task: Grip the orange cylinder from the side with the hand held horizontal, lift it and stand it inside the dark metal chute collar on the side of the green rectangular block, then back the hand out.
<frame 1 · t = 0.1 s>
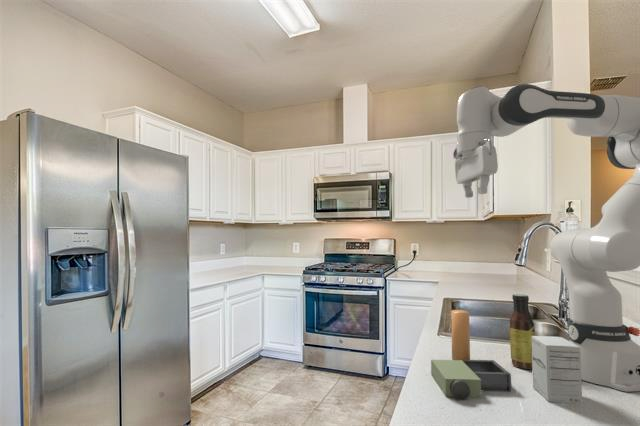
hand: (475, 195, 95), 48 cm above the countertop, tool pointing down, fingers open, 8 cm apart
supplement box: (556, 396, 80), on the countertop
green rectangular block: (454, 385, 85), on the countertop
orange cylinder: (460, 359, 103), on the countertop
chute collar: (483, 382, 87), on the countertop
sauce bottle: (523, 366, 98), on the countertop
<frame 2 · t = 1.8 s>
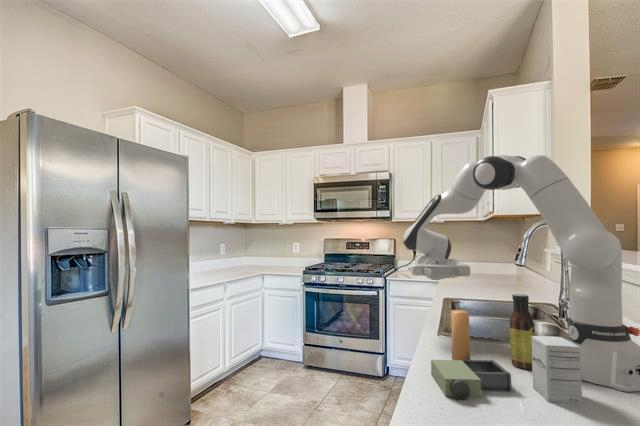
hand: (446, 272, 116), 24 cm above the countertop, tool horizontal, fingers open, 8 cm apart
nothing on the countertop moved.
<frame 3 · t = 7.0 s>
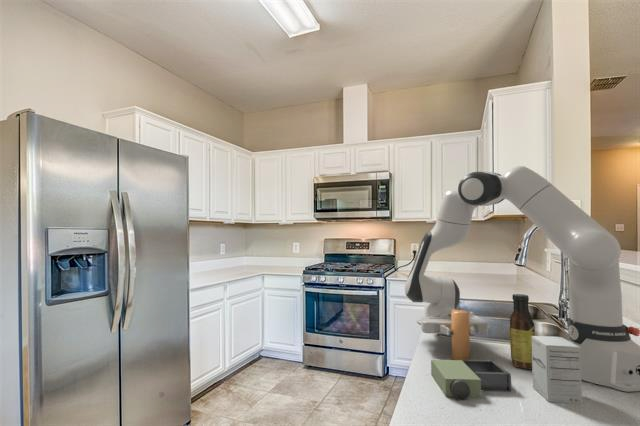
hand: (461, 332, 102), 8 cm above the countertop, tool horizontal, fingers closed on orange cylinder, 5 cm apart
orange cylinder: (460, 359, 103), on the countertop, touching gripper
everything else where it was.
when the fingers open (9 cm above the countertop, at t = 15.3 s): orange cylinder drops 1 cm, resting in chute collar.
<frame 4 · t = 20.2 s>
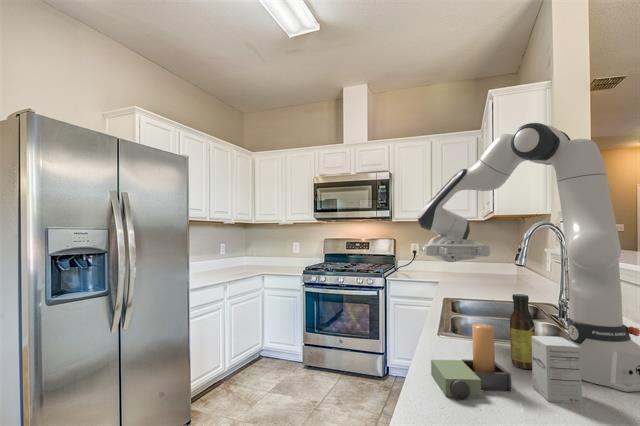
hand: (464, 251, 105), 32 cm above the countertop, tool horizontal, fingers open, 8 cm apart
orange cylinder: (484, 382, 87), resting in chute collar
everything else where it was.
at the end: orange cylinder 0.1 cm off-centre on the chute collar, point 0.0 cm above the chute collar's base; orange cylinder tilted 0°; the gripper is holding nothing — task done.
